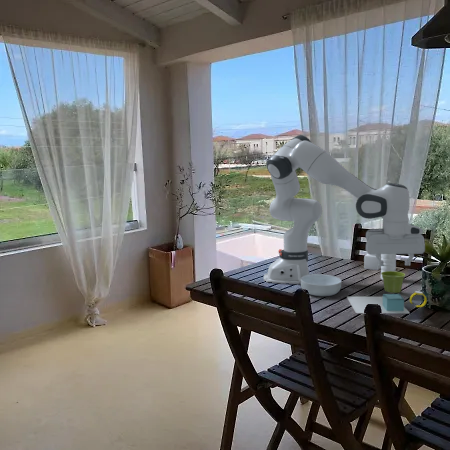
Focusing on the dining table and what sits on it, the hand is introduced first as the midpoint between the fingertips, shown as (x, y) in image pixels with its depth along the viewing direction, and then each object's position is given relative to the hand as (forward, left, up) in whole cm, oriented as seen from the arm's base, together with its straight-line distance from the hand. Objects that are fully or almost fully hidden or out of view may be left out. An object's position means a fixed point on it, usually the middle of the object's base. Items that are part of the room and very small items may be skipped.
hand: (394, 265), depth 160 cm
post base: (-5, +4, -18) cm, 19 cm away
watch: (+11, +6, -18) cm, 22 cm away
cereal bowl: (-24, +20, -18) cm, 36 cm away
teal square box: (0, 0, -16) cm, 16 cm away
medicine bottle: (+8, +65, -18) cm, 68 cm away
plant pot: (+6, +22, -18) cm, 29 cm away
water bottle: (+10, +45, -18) cm, 50 cm away
